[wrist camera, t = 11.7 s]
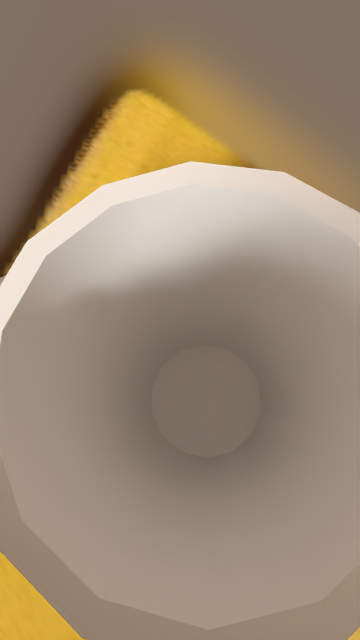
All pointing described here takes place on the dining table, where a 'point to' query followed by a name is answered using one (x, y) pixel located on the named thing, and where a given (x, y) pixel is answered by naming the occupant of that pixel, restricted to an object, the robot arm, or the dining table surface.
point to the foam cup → (187, 409)
